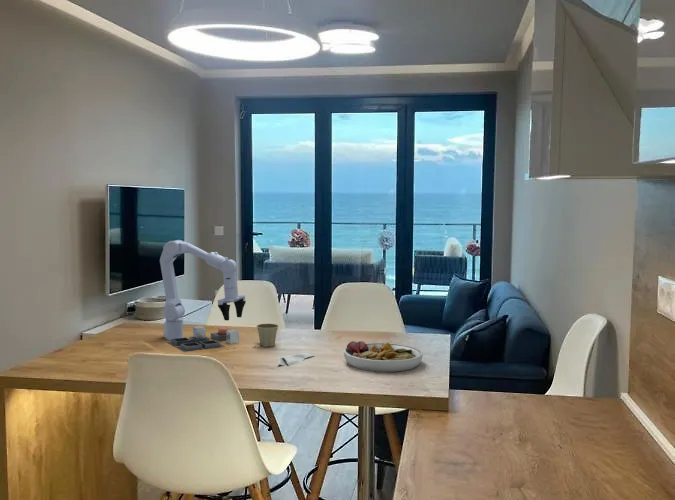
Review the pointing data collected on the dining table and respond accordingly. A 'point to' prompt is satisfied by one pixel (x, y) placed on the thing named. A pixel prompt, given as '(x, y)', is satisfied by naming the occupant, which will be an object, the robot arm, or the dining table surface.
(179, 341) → the pallet
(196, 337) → the billet
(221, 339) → the box
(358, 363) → the bowl
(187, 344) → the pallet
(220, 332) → the button
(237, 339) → the billet
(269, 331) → the flower pot
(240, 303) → the robot arm
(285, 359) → the cloth
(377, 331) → the dining table surface
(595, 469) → the dining table surface
